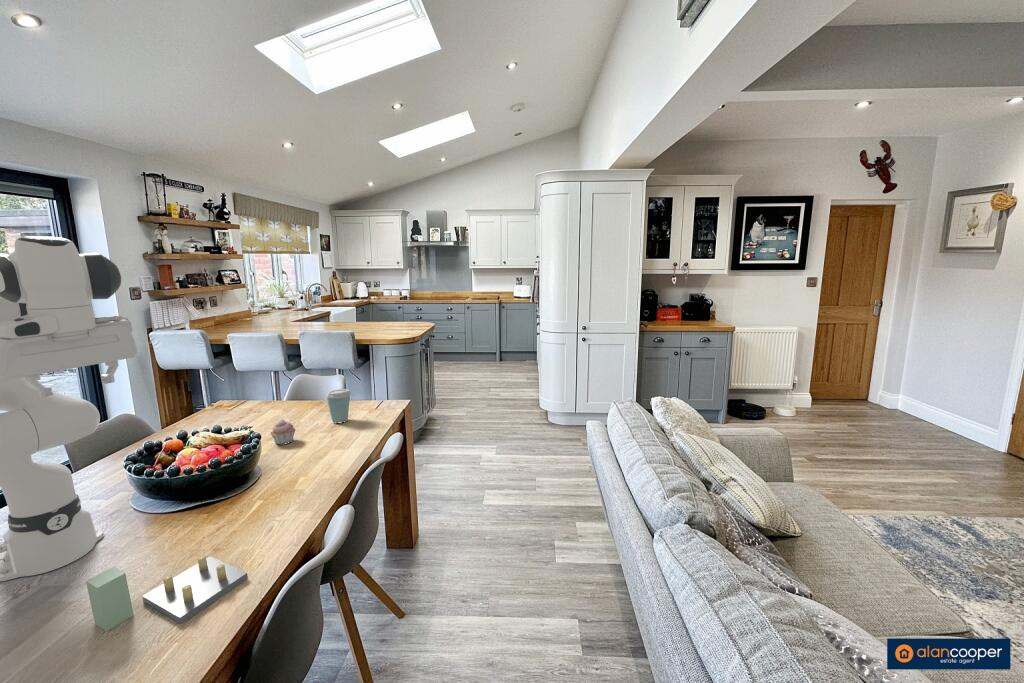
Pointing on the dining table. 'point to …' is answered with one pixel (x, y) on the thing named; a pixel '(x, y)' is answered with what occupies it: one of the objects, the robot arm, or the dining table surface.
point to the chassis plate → (194, 588)
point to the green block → (109, 598)
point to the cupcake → (283, 432)
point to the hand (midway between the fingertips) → (78, 389)
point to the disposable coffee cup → (338, 404)
